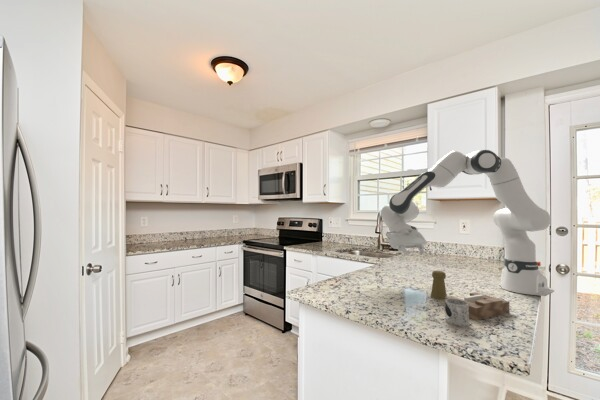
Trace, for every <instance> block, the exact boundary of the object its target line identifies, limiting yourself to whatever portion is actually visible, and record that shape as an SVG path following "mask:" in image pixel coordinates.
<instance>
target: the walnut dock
mask: <svg viewBox="0 0 600 400" xmlns="http://www.w3.org/2000/svg"><path fill="white" fill-rule="evenodd" d="M480 294H481V295H484V299H483V300H477V301H475V303H472V302H469V301H466V300H464V299H463V298H460V297H456V296H453V295H449V296H447V297H445V299H444V301H445V300H446V299H459V300H463V301H466V302H468V303H469V318H470V319H472V320H475V321H478V320H483V319H488V318H494V317H497V316H502V315H506V314H508V315H509V314H510V301H507V300H504V299H500V298H497V297H494V296H491V295H487V294H483V293H480V292H477V291H476V292H469V296H474V295H480Z"/></svg>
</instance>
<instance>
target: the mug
mask: <svg viewBox="0 0 600 400" xmlns="http://www.w3.org/2000/svg"><path fill="white" fill-rule="evenodd" d="M463 300H464V299H463ZM463 300H459V299H446V300H445V299H444V310H445V312H444V314H445V315H444V316H445V322H446V323H448V324H449V325H452V326H455V327H462V328H463V327H464V328H466V327H468V326H469V325H470V324H469V323H470V319H469V303H468V302H466V301H463Z"/></svg>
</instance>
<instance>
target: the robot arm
mask: <svg viewBox="0 0 600 400" xmlns="http://www.w3.org/2000/svg"><path fill="white" fill-rule="evenodd" d="M461 172H462V173H464V174H466V175H473V176H474V175H481V174H485V175H486V176H487V177H488V178H489V182H490V184H491V187H492V190H493V192H494V195H495V198H496V200H497V201H499V202H500V203H502V204H503V205H504V206H505V207H504V208H501V209H498V210H496V211H495V212H494V214H493V216H492V217H493V218H492V219H493V222H494V224H495V225H496V226H497V227H498V229H499V230H500V232H501V235H502V237H503V240H504V250H505V253H504V254H505V255H504V256H505V257H504V261H503V263H504V264H503V265H504V268H502V270H501V277H500V282H498V286H499V287H501V289H503V290H505V291H509V292H513V293H517V294H522V295H523V294H524V295H532V296H541V297H542V296H543V297H547V296H549V295H550V294H553V293H555V289H554V288H551V287H548V278H547V277H546V276H545V275H544V274H543V273H541V272H540V270H539V267H541V265H542V264H541V261H537V258H536V256H537V255H536V244H535V242H534V241H532V240H531V239H530V237H529V236H528V233H527V232H540V231H545V230H547V229H548V228H549V226H550V225H551V223H552V222H551V221H552V218H551V215H550V214H549V212H548V211H547V210H546V209H543V208H541V207H540V206H538V204H536V203H535V202H534V201H533V200H532V199H531V197H530V195H528V194H527V192H526V190H525V187H524V185H523V183H522V179H521V178H520V175H519V172H518V171H517V168H516V167H515V165H514V164H513V162H512V161H511V160H510V159H509V158H507V157H500V156H498V155H497V154H496V153H495V152H494V151H492V150H489V149H479V150H476V151H472V152H471V153H468V154H463V153H462V152H460V151H457V150H451V151H450V152H448V153H447V154H445V155H444V156H442V158H440V159H439V160H438V161H437V162H436V163H435V164H434V165H433V166H432V167H431V168H429V169H428V170H426V171H424V172H422V173H421V174H420V175H418V176H417V177H416V178H415V179H414V180H412V181H411V182H410V183H409V184H408V185H407V186H406V187H404V188H403V189H401V190H400V191H398V192H396V193H394V194H393V195H392V196H391V197H390V199H389V203H388V204H386V205H384V206H383V207H382V208H381V211H380V216H381V217H380V218H382V221H383V222H384V223H383V224H385V225H386V227H387V228H388V229H389V231H386V233H385V236H386V238H387V242H388V243H389V245H390V247H391V248H392V249H394V250H396V249H397V250H398V249H399V251H401V252H402V253H404V255H405V256H406V257H407V256H410V254H411V252H410V251H409V250H407V249H418V250H419V254H420V255H425V254H426V251H425V249H424V247H425V246H426V245H427V244H428V243H427V239H426V238H425V236H423V234H422V233H421V232H420V231H419V228H418V227H417V226H413V225H411V224H408V223H409V222H411V221H413V220H414V219H416V218H417V217H418V216H419V213H420V209H419V207H418V206H417V204H416V203H415V202H414V201H413V199H414V198H415V197H416V196H417V195H418V194H420V193H421V192H422V191H423V190H424V189H425V188H428V187H435V188H444V187H446V186H448V185H449V184H450V183H452V182H453V180H454V179H455V178H457V176H458V175H459V174H461Z"/></svg>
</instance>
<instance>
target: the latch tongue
mask: <svg viewBox="0 0 600 400" xmlns="http://www.w3.org/2000/svg"><path fill="white" fill-rule="evenodd" d="M481 294H482V293H481ZM481 294H480V295H474V296H470V295H469V296H464V299H463V300H466V301H469V302H472V303H475V301H477V300H483V299H484V295H485V294H484V295H481Z"/></svg>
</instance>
